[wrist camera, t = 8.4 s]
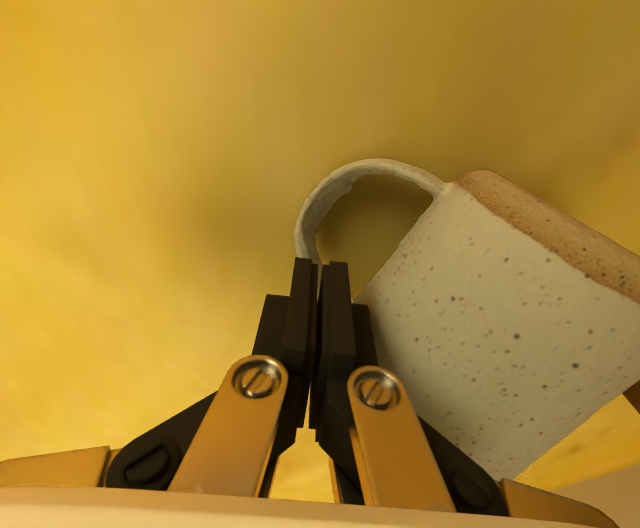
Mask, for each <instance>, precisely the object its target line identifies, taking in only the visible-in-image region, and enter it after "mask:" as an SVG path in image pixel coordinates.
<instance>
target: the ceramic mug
mask: <svg viewBox="0 0 640 528" xmlns="http://www.w3.org/2000/svg"><path fill="white" fill-rule="evenodd" d="M362 174H391V175H393V176H395V177H398V178H400V179H403V180H405V181H408V182H410V183H413V184H416V185H417V186H419V187H420V188H421V189H423V190H425V191H428V192H429V193H430V194H431V195H432V197H433V202H432V203H431V205H430V206H429V207H428V208H427V209H426V211H425V212H424V213H423V214H422V215H421V216H420V217H419V218H418V220H417V221H416V223H415V224H414V225H413V227H412V228H411V230H410V231H409V232H408V233H407V234H406V236H405V237H404V238H403V239H402V240H401V241H400V243H399V246H398V248H397V249H396V251H395V252H394V253H393V254H392V256H391V257H390V258H389V259H388V260H387V261H386V262H385V264H384V265H383V266H382V267H381V269H380V270H379V271H378V272H377V273H376V274H375V275H374V277H373V278H372V279H371V281H370V282H369V284H368V285H367V286H366V287H365V289H364V290H363V291H362V293H361V294H360V295H359V296H358V297H357V298H356V300H353V299H351V303H355V304H365V305H367V306H368V308H369V313H370V319H371V325H372V331H373V336H374V342H375V348H376V354H377V360H378V365H379V367H382V368H385V369H387V370H389V371H390V372H392V373H394V374H395V375H396V376H397V377H398V378H399V379H400V380H401V381H402V383H403V384H404V386H405V388H406V390H407V392H408V395H409V397H410V400H411V402H412V404H413V407H414V409H415V412H416V414H417V415H418V416H419V417H421V418H422V419H423V420H424V421H426V422H427V423H428V424H429V425H431V426H432V427H433V428H434V429H435V430H437V431H438V432H439V433H440V434H442V435H443V436H444V437H445V438H446V439H448V440H449V441H450V442H451V443H453V444H454V445H455V446H456V447H457V448H459V449H460V450H461V451H462V452H464V453H465V454H466V455H467V456H468V457H470V458H471V459H472V460H473V461H475V462H476V463H477V464H478V465H479V466H481V467H482V468H483V469H484V470H485V471H486V472H487V473H488V474H489V475H490V476H491V477H492V478H493V479H494V480H497V481H500V480H501V478H502V477H503V478H506V479H509V480H513V479H514V478H515V477H516V476H518V475H519V474H520V473H521V472H522V471H524V470H525V469H526V468H527V467H528V466H530V465H531V464H532V463H533V462H534V461H536V460H537V459H538V458H539V457H540V456H542V455H543V454H544V453H546V452H547V451H548V450H550V449H551V448H552V447H553V446H555V445H556V444H557V443H559V442H560V441H561V440H562V439H564V438H565V437H566V436H568V435H569V434H570V433H571V432H573V431H574V430H575V429H576V428H578V427H579V426H580V425H581V424H583V423H584V422H585V421H586V420H587V419H589V418H590V417H591V416H592V415H593V414H594V413H595V412H596V411H598V410H599V409H600V408H601V407H603V406H604V405H606V404H607V403H608V402H610V401H611V400H613V399H614V398H615V397H617V396H618V395H620V394H621V393H622V392H624V391H625V390H627V389H628V388H629V387H631V386H632V385H633V384H635V383H636V382H637V381H639V380H640V257H639V256H637V255H636V254H634V253H632V252H631V251H629V250H627V249H626V248H624V247H622V246H621V245H619V244H617V243H616V242H614V241H612V240H611V239H609V238H607V237H606V236H604V235H602V234H601V233H599V232H597V231H595V230H594V229H592V228H590V227H588V226H587V225H585V224H583V223H581V222H580V221H578V220H576V219H574V218H573V217H571V216H569V215H568V214H566V213H564V212H563V211H561V210H559V209H558V208H556V207H554V206H552V205H551V204H549V203H547V202H546V201H544V200H542V199H541V198H539V197H537V196H535V195H534V194H532V193H530V192H528V191H527V190H525V189H523V188H521V187H520V186H518V185H516V184H514V183H513V182H511V181H509V180H508V179H506V178H504V177H502V176H500V175H499V174H497V173H495V172H494V171H491V170H488V169H482V170H477V171H472V172H467V173H465V174H463V175H461V176H460V177H458V178H457V179H456V180H455V181H453V182H452V183H444V182H443V181H442V180H440V179H439V178H437V177H436V176H434V175H433V174H432V173H430V172H428V171H426V170H424V169H422V168H419V167H416V166H413V165H410V164H407V163H404V162H401V161H397V160H393V159H381V158H370V159H363V160H359V161H356V162H352V163H348V164H346V165H344V166H342V167H340V168H338V169H336V170H334V171H333V172H331V173H329V174H328V175H327V176H326V177H325V178H324V179H323V180H321V181H320V182H319V183H318V184H317V186H316V187H315V188H314V189H313V190H312V192H311V193H310V194H309V196H308V198H307V199H306V201H305V202H304V204H303V205H302V207H301V210H300V212H299V215H298V218H297V221H296V224H295V229H294V246H295V251H296V255H297V257H299V258H308V259H312V263H313V264H318V290H317V297H318V294H319V288H320V281H321V274H322V268H323V264H322V261H321V259H320V256H319V253H318V251H317V246H316V234H317V232H318V226H319V224H320V223H321V222H322V220H323V219H324V217H325V216H326V214H327V213H328V211H329V210H330V208H331V207H332V206H333V204H334V203H335V202H336V201H337V200H338V199H339V197H340V196H341V195H344V194H347V193H349V192H350V191H351V189H352V187H353V182H354V181H356V180H357V179H359V178H360V177H361V175H362Z"/></svg>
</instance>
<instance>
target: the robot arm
mask: <svg viewBox="0 0 640 528" xmlns="http://www.w3.org/2000/svg"><path fill="white" fill-rule="evenodd" d="M317 290H318V264H313V263H312V259H308V258H299V257H296V258H295V265H294V271H293V278H292V285H291V292H290V297H289V296H280V295H270V294H267V295H266V299H265V303H264V307H263V311H262V315H261V319H260V323H259V327H258V331H257V335H256V339H255V343H254V347H253V351H252V355H251V356H247V357H244V358H242V359H240V360H238V361H237V362H236V363H234V364H233V365H232V366H231V368H230V369H229V370H228V372H227V374H226V376H225V378H224V380H223V382H222V384H221V386H220V388H219V390H218V391H216V392H214V393H213V394H211V395H209V396H207V397H206V398H204V399H202V400H201V401H199V402H197V403H195V404H194V405H192V406H190V407H189V408H187V409H185V410H184V411H182V412H180V413H178V414H177V415H175V416H173V417H172V418H170V419H168V420H166V421H165V422H163V423H161V424H160V425H158V426H156V427H154V428H153V429H151V430H149V431H148V432H146V433H144V434H143V435H141V436H139V437H137V438H136V439H134V440H133V441H131V442H130V443H129V444H127V445H126V446H125V447H123V448H122V449H115V450H110V447H109V446H102V447H95V448H88V449H80V450H73V451H66V452H59V453H51V454H44V455H37V456H30V457H22V458H15V459H8V460H5V461H1V462H0V528H619V527H618V526H617V524H616V523H615V522H614V521H613V520H612V519H611V518H609V517H608V516H607V515H605V514H604V513H603V512H602V511H600V510H598V509H596V508H594V507H592V506H590V505H588V504H585V503H582V502H579V501H576V500H573V499H569V498H566V497H563V496H560V495H557V494H554V493H550V492H547V491H544V490H541V489H538V488H535V487H531V486H528V485H525V484H522V483H519V482H516V481H512V480H509V479H506V478H503V477H502V478H501V480H500V481H497V480H494V479H493V478H492V477H491V476H490V475H489V474H488V473H487V472H486V471H485V470H484V469H483V468H482V467H481V466H479V465H478V464H477V463H476V462H475V461H473V460H472V459H471V458H470V457H468V456H467V455H466V454H465V453H464V452H462V451H461V450H460V449H459V448H457V447H456V446H455V445H454V444H453V443H451V442H450V441H449V440H448V439H446V438H445V437H444V436H443V435H442V434H440V433H439V432H438V431H437V430H435V429H434V428H433V427H432V426H431V425H429V424H428V423H427V422H426V421H424V420H423V419H422V418H421V417H419V416H418V415H417V414H416V412H415V409H414V407H413V404H412V402H411V400H410V397H409V395H408V392H407V390H406V388H405V386H404V384H403V383H402V381H401V380H400V379H399V378H398V377H397V376H396V375H395V374H394V373H392V372H390V371H389V370H387V369H385V368H382V367H379V365H378V360H377V354H376V348H375V342H374V336H373V331H372V325H371V319H370V313H369V308H368V306H367V305H365V304H355V303H351V295H350V285H349V276H348V267H347V263H344V262H335V261H330V263H329V265H323V268H322V274H321V281H320V288H319V294H318V301H317ZM310 382H311V384H310ZM309 388H310V407H309V429H316V437H315V442H319V446H320V447H321V448H322V449H323V450H324V451H325V452H326V453H327V454H328V455H329V469H330V475H331V482H332V488H333V495H334V501H335V503H324V502H310V501H297V500H283V499H270V498H269V497H270V494H271V490H272V486H273V482H274V479H275V475H276V471H277V467H278V463H279V458H280V454H282V453H283V452H284V451H285V450H287V449H288V448H289V447H290V446H291V445H293V444H294V443H295V437H296V430H297V428H303V425H304V419H305V413H306V407H307V400H308V394H309Z"/></svg>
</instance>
